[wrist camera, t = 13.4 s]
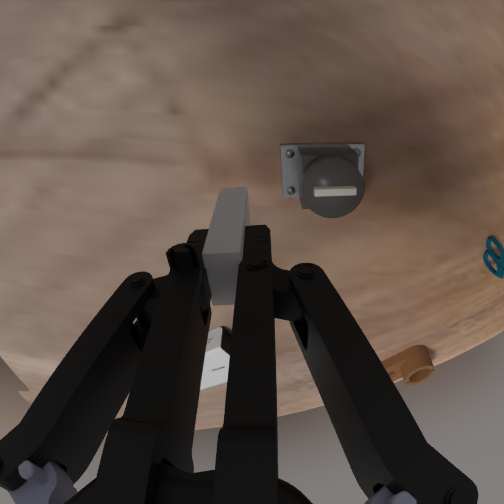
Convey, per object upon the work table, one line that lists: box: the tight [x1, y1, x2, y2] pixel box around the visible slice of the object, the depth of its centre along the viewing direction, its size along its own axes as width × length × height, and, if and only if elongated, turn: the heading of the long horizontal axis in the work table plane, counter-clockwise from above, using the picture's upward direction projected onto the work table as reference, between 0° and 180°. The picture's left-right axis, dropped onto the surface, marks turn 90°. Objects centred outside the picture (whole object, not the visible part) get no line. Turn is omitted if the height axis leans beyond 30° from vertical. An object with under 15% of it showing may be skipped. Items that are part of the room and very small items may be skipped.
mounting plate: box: [280, 143, 365, 198], centre depth 41 cm, size 8×12×5 cm, turn 95°
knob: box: [298, 146, 364, 218], centre depth 39 cm, size 8×8×8 cm
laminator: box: [200, 326, 232, 390], centre depth 68 cm, size 34×12×6 cm, turn 124°
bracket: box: [381, 345, 434, 385], centre depth 67 cm, size 18×8×7 cm, turn 127°
